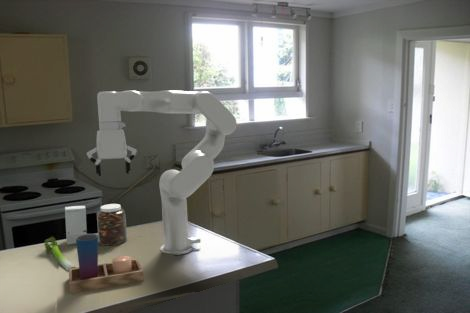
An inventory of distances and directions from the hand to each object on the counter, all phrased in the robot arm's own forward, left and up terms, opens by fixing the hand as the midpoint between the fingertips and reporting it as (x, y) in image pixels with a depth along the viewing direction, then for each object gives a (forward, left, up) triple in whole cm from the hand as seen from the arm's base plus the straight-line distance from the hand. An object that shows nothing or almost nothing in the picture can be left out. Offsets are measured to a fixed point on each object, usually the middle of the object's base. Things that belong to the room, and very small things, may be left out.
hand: (113, 174), depth 156 cm
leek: (+20, -10, -33) cm, 40 cm away
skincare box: (+14, -30, -32) cm, 46 cm away
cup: (+11, +17, -32) cm, 38 cm away
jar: (0, -24, -32) cm, 40 cm away
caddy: (+6, +18, -32) cm, 37 cm away
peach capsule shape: (+1, +18, -32) cm, 36 cm away
